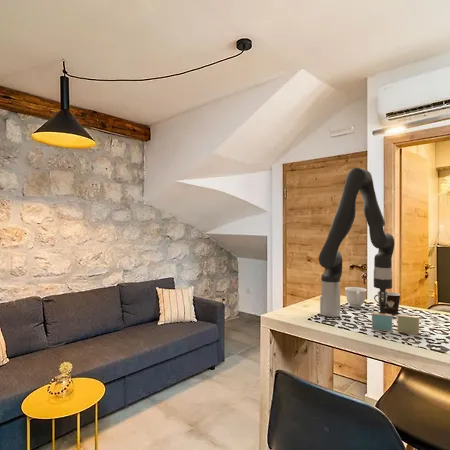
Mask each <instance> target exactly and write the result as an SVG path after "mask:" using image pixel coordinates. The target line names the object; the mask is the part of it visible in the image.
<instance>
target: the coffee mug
mask: <svg viewBox="0 0 450 450" xmlns="http://www.w3.org/2000/svg"><path fill="white" fill-rule="evenodd" d="M387 292H388V297H387V303H386V308H385V314H390V315H398V314H399V308H400V302H401V301H400V300H401V294H400V293H398V292H391V291H387ZM376 297H378V294H375V295H374V296H373V299H374V302H376V303H377V304H378V305H380V303H379V302H378V301H377V299H376Z"/></svg>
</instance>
